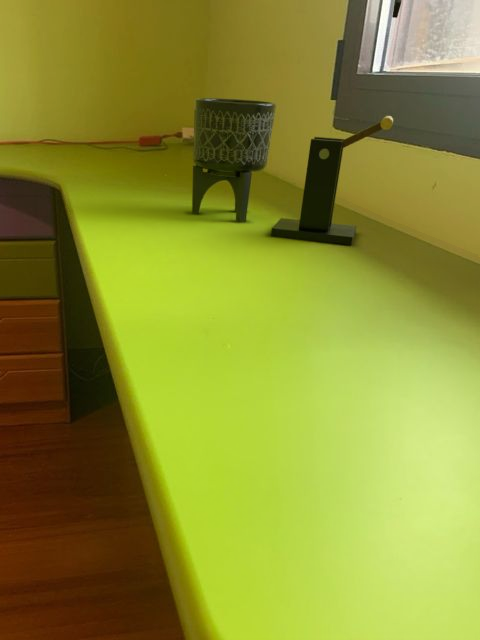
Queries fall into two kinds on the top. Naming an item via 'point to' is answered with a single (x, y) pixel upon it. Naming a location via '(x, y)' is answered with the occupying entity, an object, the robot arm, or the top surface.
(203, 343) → the top surface
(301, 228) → the bracket
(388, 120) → the lever
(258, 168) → the planter
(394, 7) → the robot arm
